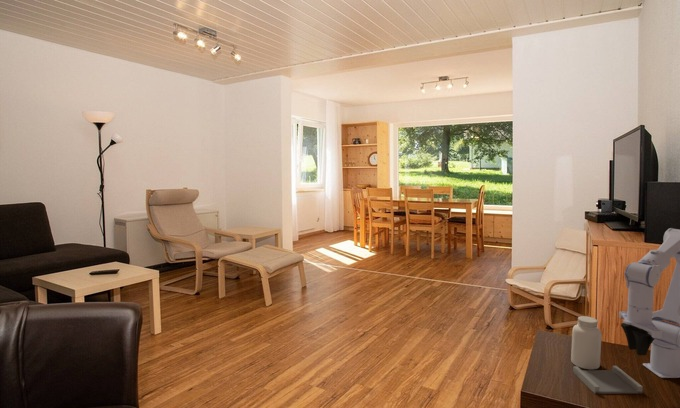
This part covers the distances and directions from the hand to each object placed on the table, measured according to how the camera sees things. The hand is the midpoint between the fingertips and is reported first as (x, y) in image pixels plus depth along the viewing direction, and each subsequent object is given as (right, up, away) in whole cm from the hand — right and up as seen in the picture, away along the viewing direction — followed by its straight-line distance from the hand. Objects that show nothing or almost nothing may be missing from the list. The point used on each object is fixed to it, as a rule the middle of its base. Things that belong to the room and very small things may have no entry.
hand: (637, 351), depth 117 cm
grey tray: (-7, -10, +4) cm, 13 cm away
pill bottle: (-6, -9, +14) cm, 18 cm away
